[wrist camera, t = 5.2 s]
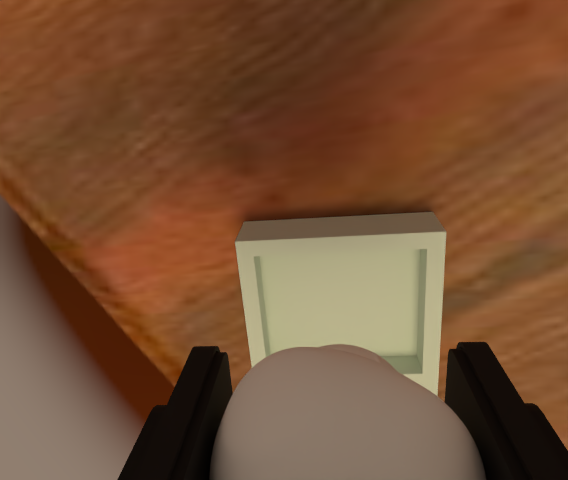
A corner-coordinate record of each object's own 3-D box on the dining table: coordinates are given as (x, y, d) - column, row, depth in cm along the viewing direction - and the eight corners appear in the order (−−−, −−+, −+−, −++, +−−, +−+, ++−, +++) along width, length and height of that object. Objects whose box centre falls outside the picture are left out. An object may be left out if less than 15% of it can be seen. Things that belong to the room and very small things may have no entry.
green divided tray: (244, 221, 24) (235, 241, 21) (432, 211, 23) (446, 231, 20) (273, 455, 30) (268, 491, 28) (422, 455, 29) (432, 493, 27)
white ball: (483, 396, 11) (613, 648, 6) (326, 491, 12) (333, 757, 7) (347, 248, 10) (376, 418, 5) (192, 371, 11) (101, 593, 6)
